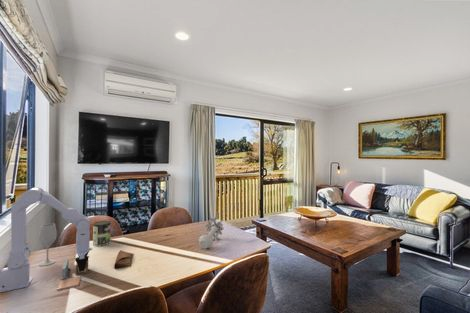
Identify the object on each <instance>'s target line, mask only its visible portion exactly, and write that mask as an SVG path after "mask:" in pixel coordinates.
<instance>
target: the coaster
mask: <svg viewBox="0 0 470 313" xmlns="http://www.w3.org/2000/svg"><path fill="white" fill-rule="evenodd" d="M80 281H81V275H79V276H75V277H70V278H68V279H65V280H61V281H60V280H59V282H58V285H57V288H56V291H62V290H65V289H70V288H74V287H78V286H80V283H81V282H80Z"/></svg>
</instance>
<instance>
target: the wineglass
mask: <svg viewBox="0 0 470 313" xmlns="http://www.w3.org/2000/svg"><path fill="white" fill-rule="evenodd" d="M39 228H40V229H39V233H38V241H39V243H40V244H41V245H43V246H45V247H46V260H44V261H40V262H39V263H38V266H39V267H45V266H46V265H47V266H51V265H53V264H55V263H56V259H49V248H50V246H51V245H52V244H53V243H54V242H55V241H56V239H57V235H58V232H57V227H56V223H55V222H53V223H51V222H50V223H45V224H42V225H40V227H39Z"/></svg>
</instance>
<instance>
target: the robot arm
mask: <svg viewBox="0 0 470 313" xmlns="http://www.w3.org/2000/svg"><path fill="white" fill-rule="evenodd" d="M36 203H38V204H41V205H43V204H44V205H45V204H47V205H49V206H50V207H51V208H53V209H55V210H56V211H58V212H59V213H61V214H62V215H61V216H62V218H63V219H64V220H66V221H67V222H68V223H70V224H71V225H74V226H75V228H76V234H75V235H76V239H75V254H76V255H77V256H78V257H75V258H74V260H75V262H76V263H77V264H78V268H79V272H81V271H84V270H85V267H86V262H87V260H88V261H89V258H90V256H89V253H90V251H92V250H93V247H90V238H91V236H90V235H91V234H90V226H91V221H90V219H89V217H88V216H86V215H85V214H82V213H80V212H79V211H78V208H76V207H75V208H73V207H67V206H66V205H65V204H64V203H62V201H60V200H58V199H57V198H56V197H55V196H54V195H52V194H51V193H49V192H48V191H46V190H45V191H44V189H43V188H41V187H32V188H30V189H28V190H26V191H25V192H23V193H22V194H20V195H19V197H18V198H17V199H16V201H14V203H13V204H12V205H11V207H10V215H11V217H10V220H11V222H10V223H11V224H10V226H11V227H10V228H11V229H10V230H11V235H10V236H11V247H10V251H9V256H8V259H7V260H6V267H3V268H1V270H0V293H5V292H9V291H13V290H17V289H23V288H27V287H28V286H30V283H31V281H32V279H33V277H30V272H31V271H30V267H31V266H30V264H31V262H30V260H29V258H30V256H31V252H32V251H31V250H30V248H29V246H28V242H27V209H28V208H29V207H30V206H31V205H33V204H36Z"/></svg>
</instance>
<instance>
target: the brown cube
mask: <svg viewBox="0 0 470 313" xmlns="http://www.w3.org/2000/svg"><path fill="white" fill-rule="evenodd" d="M88 272H89V259H88V260H87V262H86V267H85V270H84V271H81V272H79V268H78V264H77V262H76V264H75V275H76V276H78V275H81V274H82V275H83V274H86V273H88Z"/></svg>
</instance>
